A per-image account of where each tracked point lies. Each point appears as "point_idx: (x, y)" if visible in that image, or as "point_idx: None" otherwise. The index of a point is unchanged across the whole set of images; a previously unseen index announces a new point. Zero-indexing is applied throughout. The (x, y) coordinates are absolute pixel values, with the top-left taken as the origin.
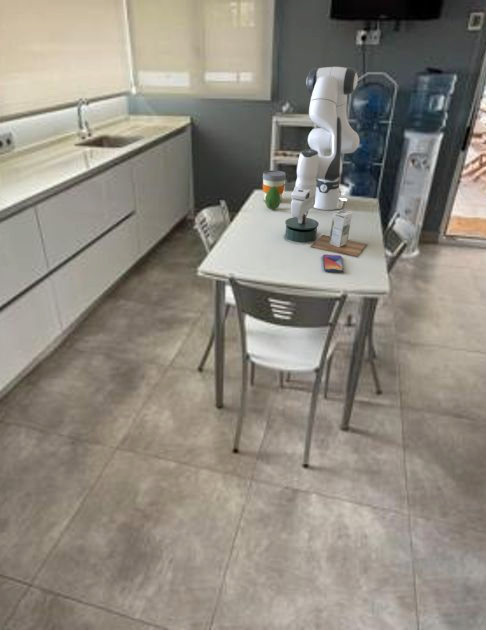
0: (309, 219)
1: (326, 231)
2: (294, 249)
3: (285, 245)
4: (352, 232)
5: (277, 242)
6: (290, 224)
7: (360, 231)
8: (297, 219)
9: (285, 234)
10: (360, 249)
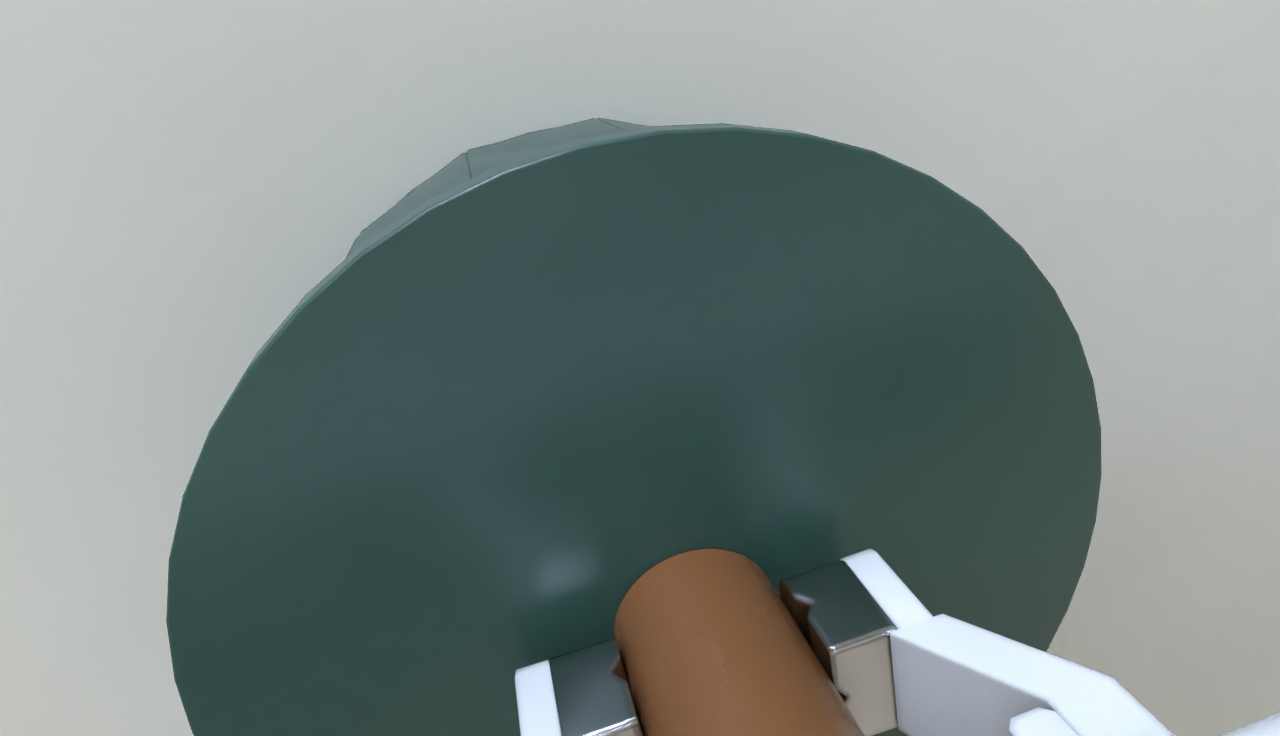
0: (1014, 572)
1: (1101, 492)
2: (78, 680)
3: (56, 477)
4: (1207, 686)
5: (6, 266)
6: (288, 539)
7: (1270, 709)
8: (834, 388)
9: (360, 241)
10: None
